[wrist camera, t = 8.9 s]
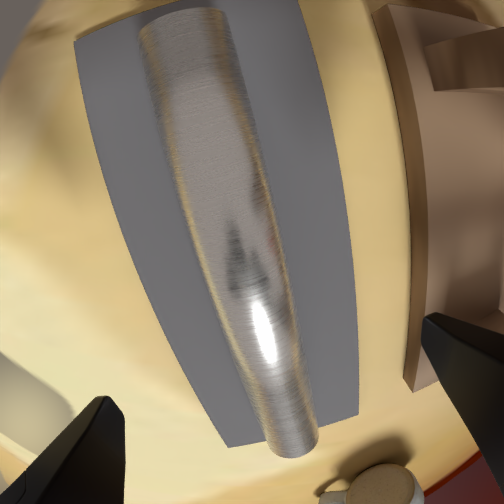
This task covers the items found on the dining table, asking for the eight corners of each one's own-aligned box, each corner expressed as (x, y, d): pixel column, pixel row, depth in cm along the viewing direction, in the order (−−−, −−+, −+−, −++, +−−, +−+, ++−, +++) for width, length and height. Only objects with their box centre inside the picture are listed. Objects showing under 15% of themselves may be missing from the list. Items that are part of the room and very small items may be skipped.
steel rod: (314, 412, 16) (322, 451, 14) (266, 422, 17) (269, 462, 14) (228, 29, 9) (224, -2, 6) (151, 52, 9) (123, 30, 6)
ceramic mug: (401, 447, 22) (428, 507, 14) (411, 466, 24) (432, 514, 17) (303, 490, 23) (316, 551, 16) (330, 503, 26) (343, 551, 19)
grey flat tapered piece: (356, 409, 18) (358, 414, 17) (227, 442, 18) (227, 447, 17) (288, -13, 9) (290, -18, 8) (78, 44, 9) (73, 41, 8)
